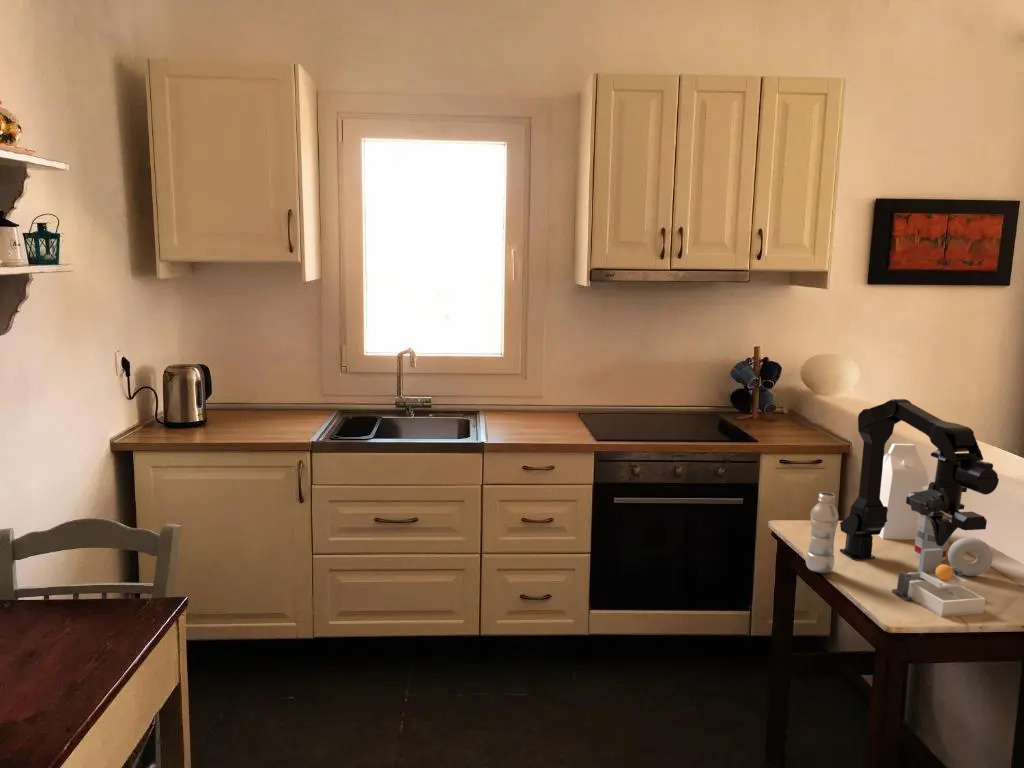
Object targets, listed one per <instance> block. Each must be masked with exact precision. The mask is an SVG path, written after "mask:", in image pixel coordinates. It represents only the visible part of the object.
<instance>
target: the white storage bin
mask: <svg viewBox="0 0 1024 768" xmlns="http://www.w3.org/2000/svg"><path fill="white" fill-rule="evenodd" d="M908 596H910V597H912V601H914V600H915V602H916V601H917V602H916V603H918V602H919V603H920V604H919V603H918V604H919V605H921V604H922V605H921V606H923V605H924V606H925V607H924V606H923V607H924V608H926V607H927V608H926V609H928V610H929V609H930V611H931V612H933V613H935V614H936V615H938V616H939V617H941V618H945V617H946V618H947V617H956V616H965V615H966V616H968V615H979V614H981V615H982V614H984V611H985V606H986V604H985V603H986V598H985V597H983V596H981V595H980V594H978V593H976V592H974V591H973V590H971V589H968V588H966V586H958V587H945V588H938V587H937V586H935V585H933V584H931V583H930V582H928V581H926V580H917V581H910V582H909V590H908Z"/></svg>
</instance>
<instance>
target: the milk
mask: <svg viewBox="0 0 1024 768" xmlns="http://www.w3.org/2000/svg"><path fill="white" fill-rule="evenodd" d="M923 486H929V474H928V470H927V469H926V466H925V465H924V463H923V462H922V458H920V456H919V453H918V451H917V448H916V445H915V444H913V443H892V444H891V446H890V447H889V449H888V451H887V453H885V454H884V459H883V469H882V480H881V490H880V500H881V502H882V504H883V506H886V507H887V508H888V512H887V522H885V526H884V527H883V528H882V530H881V532H880V534H879V535H877V536H878V537H879V536H880V537H881V538H880V537H879V538H880V539H882V540H916V533H917V526H918V518H919V513H918V512H916V511H913V510H911V505H909V504H906V498H907V495H908V494H909V493H910V492H921V491H922V488H923Z"/></svg>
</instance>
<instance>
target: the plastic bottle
mask: <svg viewBox="0 0 1024 768" xmlns="http://www.w3.org/2000/svg"><path fill="white" fill-rule="evenodd" d="M817 501H818V503H817V504H816V505H814V506H813V507H812V509H811V511H810V539H809V544H808V551H807V552H806V553H807V554H806V557H805V565H806V567H807V569H808V570H809V571H812V572H815V573H818V574H829V573H831V572H832V571H833V569H834V566H835V555H834V551H835V550H834V548H835V546H834V544H835V542H834V541H835V537H836V535H835V534H836V530H837V527H838V523H839V519H840V514H839V512H838V510H837V508H836V506H835V505H834V504H836V494H834V493H833V492H828V491H827V492H826V491H822V492H821V491H820V492H819V493H818V498H817Z"/></svg>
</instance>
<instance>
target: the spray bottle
mask: <svg viewBox="0 0 1024 768" xmlns="http://www.w3.org/2000/svg"><path fill="white" fill-rule="evenodd" d="M935 476H936V472H934V475H933V478H932V482H935ZM928 487H929V485H928V486H923V488H922V491H925V490H928ZM948 512H949V511H948ZM948 545H949V539H948V540H947V541H946V542H945V544H944V545H943V546H938V545H937V544H936V540H935V536H934V531H933V527H932V524H931V521H930V520H929V519H928V518H927V517H926V516H925V515H921V514H920V513H919V518H918V526H917V533H916V539H915V542H914V549H913V555H915V556H917V557H918V558H920V555H921V549H932V548H940V549H942V550H943V554H942V561H941V562H943V561H946V559H947V555H948V547H949V546H948Z"/></svg>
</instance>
